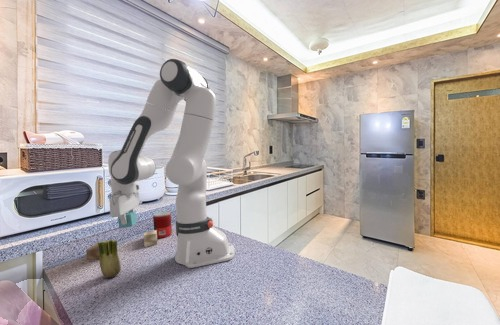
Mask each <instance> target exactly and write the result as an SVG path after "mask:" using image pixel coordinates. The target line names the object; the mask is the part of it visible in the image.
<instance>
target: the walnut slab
mask: <svg viewBox="0 0 500 325" xmlns="http://www.w3.org/2000/svg"><path fill="white" fill-rule="evenodd" d="M108 246H109V241H108ZM85 252H86V253H85V254H86V260H99V246H98V242H97V243H95V244H94V245H92V246H90V247H88V248H87V249H85Z"/></svg>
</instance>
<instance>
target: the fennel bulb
mask: <svg viewBox="0 0 500 325" xmlns="http://www.w3.org/2000/svg"><path fill="white" fill-rule="evenodd" d="M108 242H109V246H108ZM97 243H98V246H99V259H98V260H99V267H100V272H101V273H102V276H103V278H105V279H111V278H114V277H116V276H117V275H118V274H120V273H121V271H122V270H121V261H120V257H119V253H118V240H116V239H115V240H114V239H109V240H105V241H103V240H101V241H98V242H97Z"/></svg>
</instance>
